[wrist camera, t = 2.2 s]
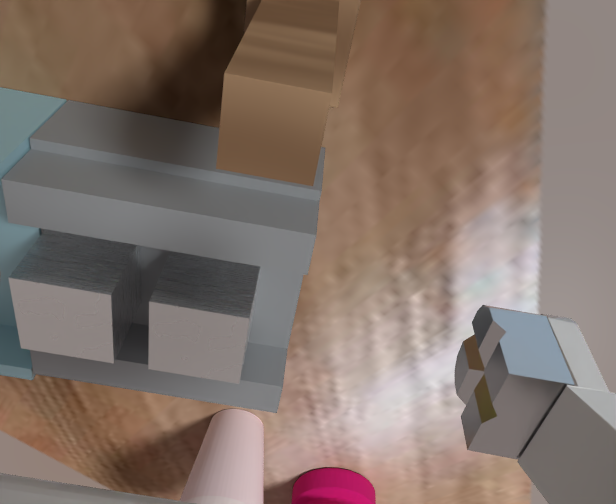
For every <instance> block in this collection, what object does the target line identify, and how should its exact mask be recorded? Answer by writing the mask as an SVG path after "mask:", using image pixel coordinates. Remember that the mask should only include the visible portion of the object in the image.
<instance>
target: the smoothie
mask: <svg viewBox="0 0 616 504" xmlns="http://www.w3.org/2000/svg"><path fill="white" fill-rule="evenodd" d="M263 476H264V426H263V423H262V421H261V420H260V419H259V418H258V417H257V416H256V415H254V414H252V413H250V412H248V411H245V410H240V409H226V410H222V411H220V412H218V413H216V414H215V415H214V416H213V417H212V419H211V422H210V424H209V427H208V430H207V432H206V435H205V437H204V440H203V442H202V445H201V447H200V450H199V452H198V455H197V457H196V460H195V463H194V465H193V468H192V470H191V473H190V475H189V478H188V480H187V483H186V485H185V488H184V491H183V493H182V496H181V498H180V501H183V502H190V503H196V504H263Z"/></svg>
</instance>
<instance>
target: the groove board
mask: <svg viewBox="0 0 616 504" xmlns="http://www.w3.org/2000/svg"><path fill="white" fill-rule="evenodd" d="M218 140H219V128H216V127H211V126H206V125H200V124H195V123H189V122H184V121H179V120H173V119H168V118H163V117H157V116H152V115H146V114H141V113H136V112H130V111H125V110H120V109H114V108H109V107H103V106H98V105H93V104H87V103H82V102H77V101H71V100H68V101H67V102H66V103H65V104H64V105H63V106H62V107H61V108H60V109H59V110H58V111H57V112H56V113H55V114H54V115H53V116H52V117H51V118H49V119H48V120H47V121H46V122H45V123H44V124H43V125H42V126H41V127H40V128H39V129H38V130H37V131H36V132H35V133H34V134H33V135H32V136H31V137H30V146H31V149H30V150H29V151H28V152H27V153H26V154H25V155H24V156H23V158H22V159H21V160H20V161H19V162H18V163H17V164H16V165H15V166H14V167H13V168H12V169H11V170H10V171H9V172H8V173H7V174H6V175H5V176H4V177H3V178H2V179H1V181H2V187H3V193H4V199H5V205H6V211H7V217H8V223H13V224H19V225H24V226H30V227H36V228H41V232H42V233H43V231H44V230H45V229H47V230H53V231H59V232H64V233H70V234H76V235H82V236H87V237H93V238H99V239H105V240H110V241H116V242H122V243H128V244H133V245H139V246H141V303H140V306H139V308H138V310H137V312H136V315H135V317H134V319H133V322H132V324H131V326H130V328H129V331H128V333H127V335H126V337H125V340H124V342H123V344H122V346H121V349H120V351H119V353H118V355H117V358H116V360H115V362H114V363H108V362H102V361H96V360H90V359H83V358H77V357H71V356H65V355H59V354H53V353H47V352H41V351H35V350H30V355H31V361H32V367H33V373H34V374H39V375H45V376H51V377H57V378H63V379H69V380H76V381H82V382H88V383H94V384H100V385H107V386H113V387H119V388H125V389H131V390H138V391H144V392H150V393H156V394H162V395H168V396H175V397H181V398H187V399H193V400H199V401H206V402H212V403H218V404H224V405H230V406H236V407H243V408H249V409H255V410H261V411H267V412H274V413H277V410H278V406H279V401H280V397H281V392H282V388H283V380H284V372H285V364H286V356H287V348H288V344H289V339H290V335H291V330H292V325H293V321H294V316H295V311H296V307H297V302H298V298H299V293H300V288H301V284H302V279H303V274H305V275H308V270H309V266H310V261H311V257H312V252H313V248H314V243H315V239H316V233H317V221H318V210H319V200H320V196H321V191H322V180H323V168H324V157H325V148H324V147H321V150H320V155H319V160H318V165H317V170H316V175H315V180H314V184H313V186H308V185H303V184H297V183H292V182H286V181H281V180H275V179H270V178H264V177H259V176H253V175H248V174H242V173H237V172H231V171H226V170H220V169H216V163H217V151H218ZM170 251H173V252H179V253H185V254H191V255H196V256H202V257H208V258H214V259H219V260H225V261H231V262H236V263H242V264H248V265H254V266H259V267H261V268H260V274H259V280H258V287H257V293H256V299H255V306H254V312H253V318H252V324H251V329H250V334H249V339H248V344H247V349H246V353H245V358H244V363H243V368H242V373H241V378H240V383H239V384H236V383H230V382H224V381H218V380H212V379H206V378H199V377H193V376H187V375H181V374H175V373H169V372H163V371H157V370H151V369H148V357H149V301H150V298H151V296H152V293H153V291H154V289H155V286H156V284H157V282H158V279H159V277H160V275H161V272H162V270H163V268H164V265H165V263H166V261H167V258H168V256H169V254H170Z"/></svg>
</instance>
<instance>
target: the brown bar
mask: <svg viewBox="0 0 616 504" xmlns="http://www.w3.org/2000/svg"><path fill="white" fill-rule="evenodd" d="M360 2H361V0H247V3H246V13H245V22H244V32H243V38H242V40H241V42H240V43H239V45H238V47H237V49H236V51H235V53H234V55H233V57H232V59H231V61H230V63H229V65H228V67H227V69H226V71H225V73H224V82H223V94H222V105H221V117H220V128H219V140H218V151H217V163H216V169H220V170H226V171H231V172H237V173H242V174H248V175H253V176H259V177H264V178H270V179H275V180H281V181H286V182H292V183H297V184H303V185H308V186H313V184H314V180H315V175H316V170H317V165H318V160H319V155H320V150H321V145H322V141H323V136H324V131H325V126H326V121H327V116H328V111H329V106H330V107H335V108H338V105H339V100H340V95H341V91H342V86H343V81H344V77H345V72H346V67H347V63H348V58H349V53H350V49H351V44H352V39H353V35H354V30H355V25H356V21H357V16H358V11H359V7H360Z"/></svg>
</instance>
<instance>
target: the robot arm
mask: <svg viewBox="0 0 616 504" xmlns="http://www.w3.org/2000/svg"><path fill="white" fill-rule="evenodd" d="M0 275H1V273H0ZM472 325H473V329H474V333H475V335H473V336H471V337H470V338H468V339H466V340H465V341H463V343H462V346H461V348H460V351H459V353H458V355H457V361H456V366H455V387H456V393H457V396H458V397H459V398H460V399H461V400H462V401H463V402H464V403H465V404H466V407H465V409H464V411H463V413H462V415H461V419H462V424H463V430H464V435H465V440H466V445H467V450H471V451H476V452H481V453H486V454H492V455H497V456H502V457H507V458H513V459H518V463H519V465H520V466H521V467H522V469H523V470H524V471H525V473H526V474H527V475H528V477H529V478H530V479H531V481H532V482H533V483H534V485H535V486H536V487H537V489H538V490H539V491H540V493H541V494H542V495H543V497H544V498H545V499H546V501H547V502H548V503H549V504H616V393H612V392H609V390H608V388H607V386H606V384H605V382H604V379H603V377H602V375H601V373H600V371H599V369H598V367H597V365H596V362H595V360H594V359H593V356H592V354H591V352H590V350H589V348H588V346H587V343H586V341H585V340H584V337H583V335H582V333H581V331H580V329H579V327H578V325H577V323H576V322H575V321H573V320H572V319H571V318H565V317H558V316H552V315H544V314H541V315H538V314H533V313H527V312H521V311H515V310H509V309H503V308H498V307H492V306H486V305H482V307H481V308H480V309H479V310H478V311H477V313H476V315H475V317H474V319H473V321H472ZM0 504H196V503H190V502H183V501H177V500H170V499H164V498H157V497H151V496H145V495H138V494H132V493H125V492H119V491H112V490H106V489H99V488H93V487H87V486H80V485H73V484H67V483H61V482H54V481H48V480H41V479H35V478H28V477H22V476H16V475H9V474H3V473H0Z"/></svg>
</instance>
